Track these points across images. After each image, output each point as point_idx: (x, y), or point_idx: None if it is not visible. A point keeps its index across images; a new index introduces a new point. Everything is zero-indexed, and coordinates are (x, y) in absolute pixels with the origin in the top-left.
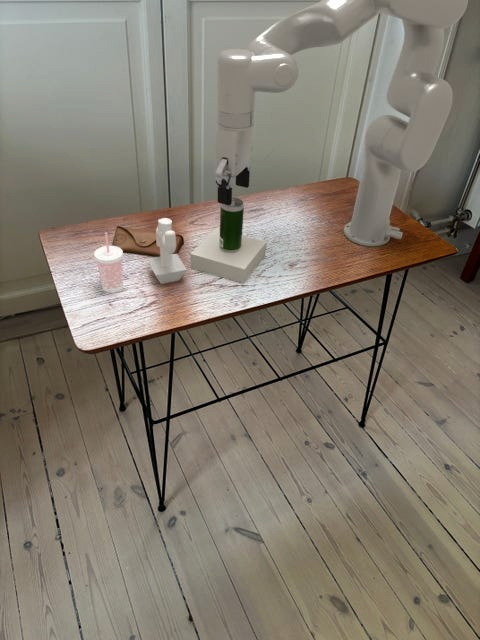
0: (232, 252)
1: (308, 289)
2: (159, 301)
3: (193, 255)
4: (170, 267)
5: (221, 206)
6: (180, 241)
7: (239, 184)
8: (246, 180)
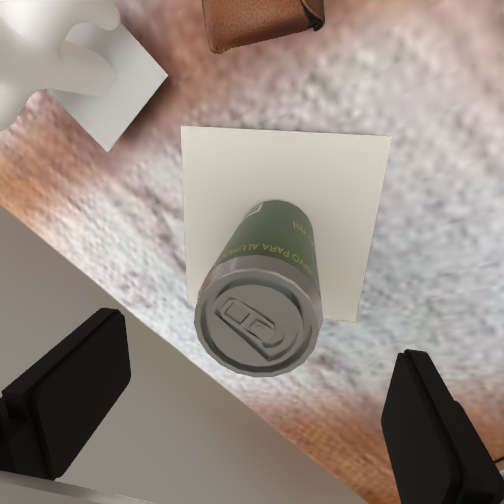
0: None
1: (245, 400)
2: (31, 119)
3: (182, 138)
4: (88, 97)
5: (218, 269)
6: (293, 22)
7: (396, 382)
8: (395, 466)
